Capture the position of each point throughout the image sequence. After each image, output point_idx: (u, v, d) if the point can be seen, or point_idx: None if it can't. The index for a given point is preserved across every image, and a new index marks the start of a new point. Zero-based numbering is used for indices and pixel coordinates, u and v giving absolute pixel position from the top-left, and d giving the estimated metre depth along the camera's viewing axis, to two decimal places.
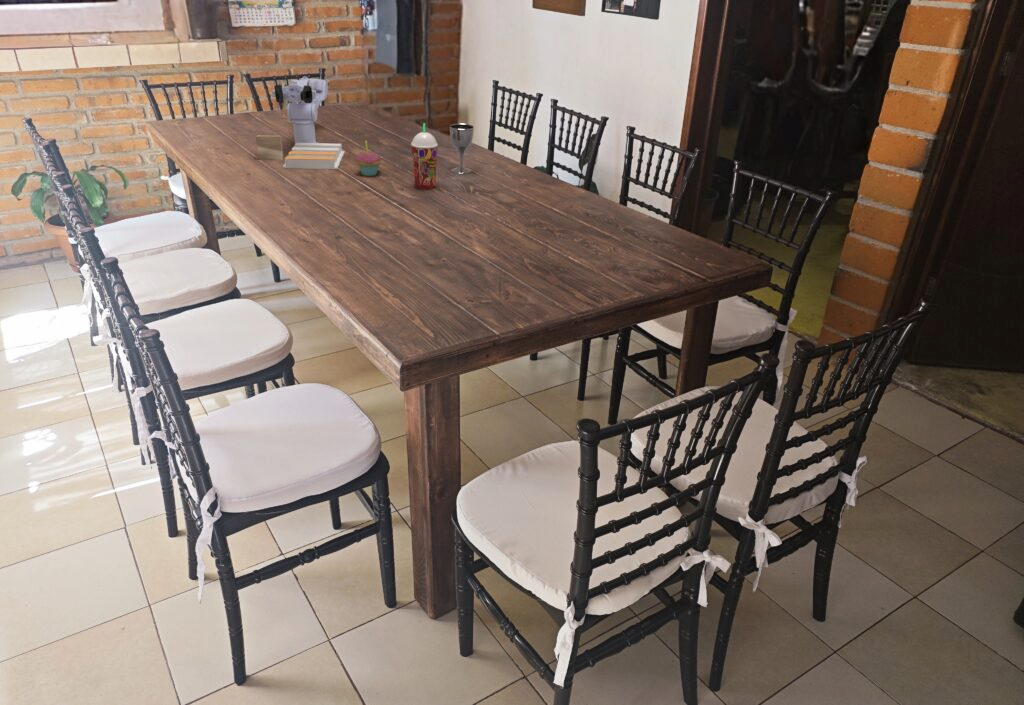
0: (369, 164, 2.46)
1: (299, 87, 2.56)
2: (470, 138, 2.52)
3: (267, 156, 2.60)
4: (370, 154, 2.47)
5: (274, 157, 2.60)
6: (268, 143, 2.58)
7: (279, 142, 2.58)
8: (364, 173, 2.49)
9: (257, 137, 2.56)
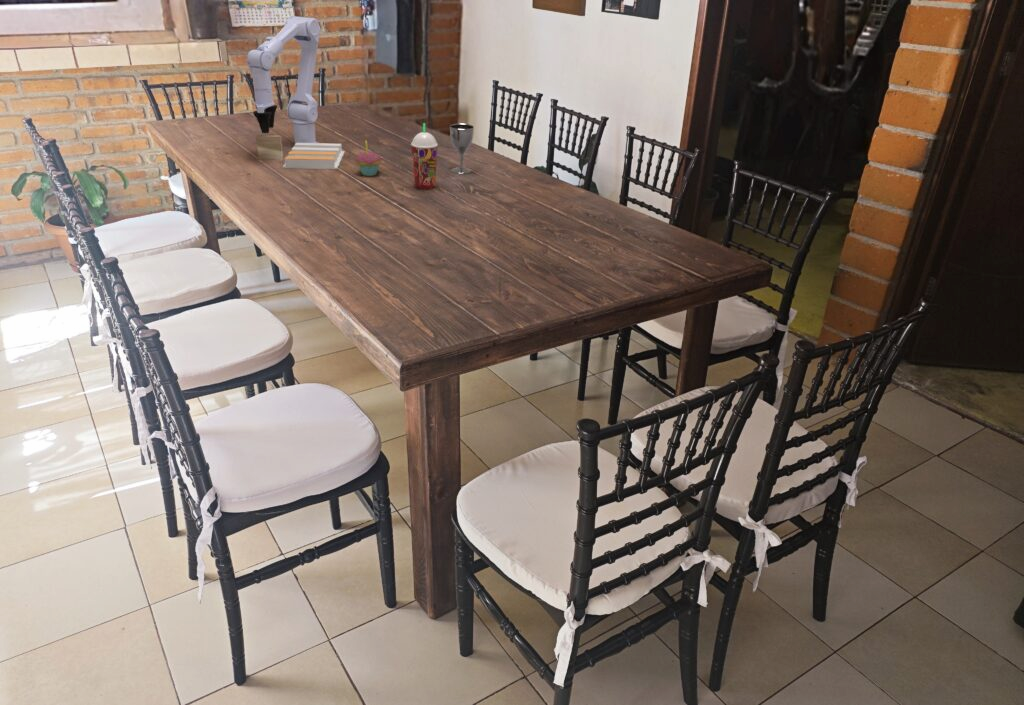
0: (369, 164, 2.46)
1: None
2: (470, 138, 2.52)
3: (267, 156, 2.60)
4: (370, 154, 2.47)
5: (274, 157, 2.60)
6: (268, 143, 2.58)
7: (279, 142, 2.58)
8: (364, 173, 2.49)
9: (257, 137, 2.56)
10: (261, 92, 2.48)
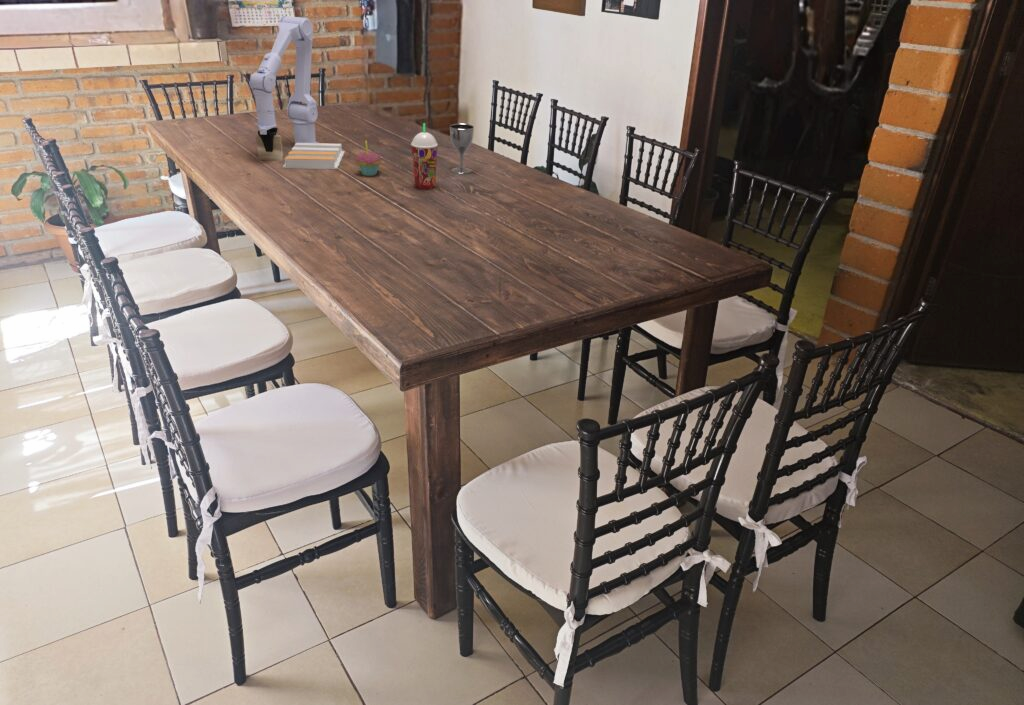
0: (369, 164, 2.46)
1: None
2: (470, 138, 2.52)
3: (267, 156, 2.60)
4: (370, 154, 2.47)
5: (274, 157, 2.60)
6: None
7: (279, 142, 2.58)
8: (364, 173, 2.49)
9: (257, 137, 2.56)
10: (264, 114, 2.51)
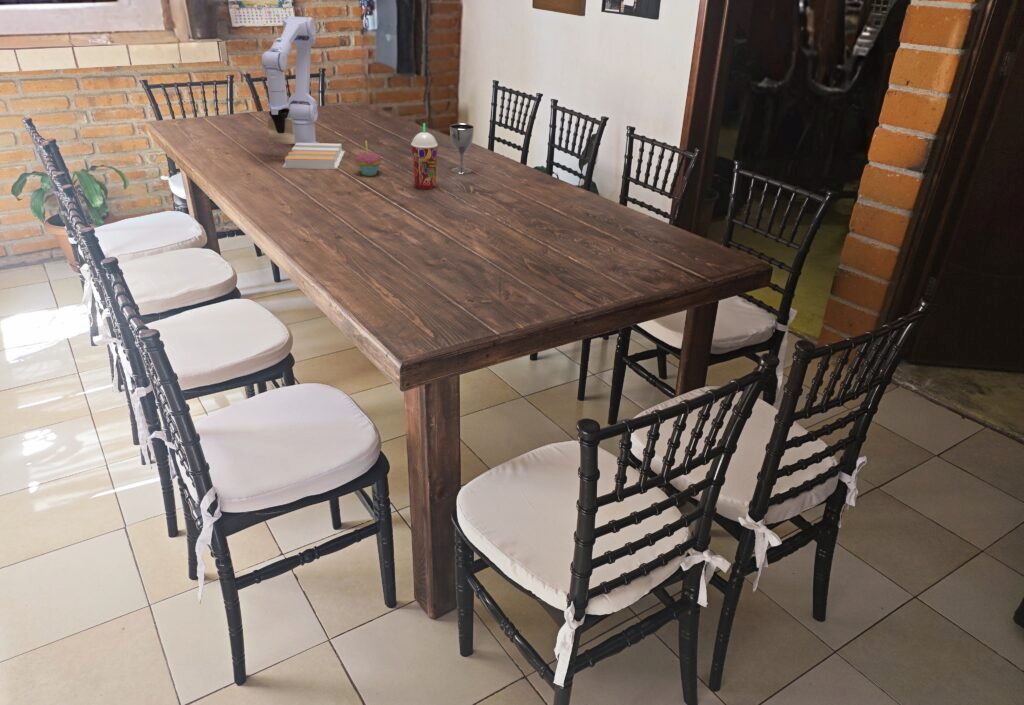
0: (369, 164, 2.46)
1: None
2: (470, 138, 2.52)
3: (278, 139, 2.55)
4: (370, 154, 2.47)
5: (285, 141, 2.56)
6: None
7: (291, 125, 2.53)
8: (364, 173, 2.49)
9: (268, 120, 2.52)
10: (275, 94, 2.46)
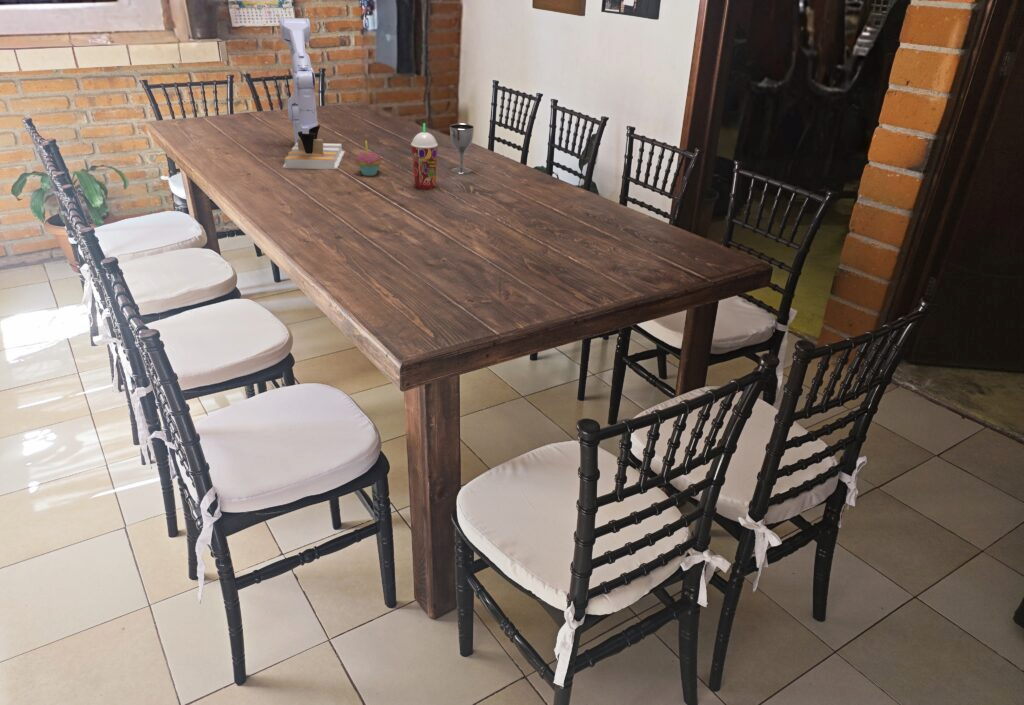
0: (369, 164, 2.46)
1: None
2: (470, 138, 2.52)
3: None
4: (370, 154, 2.47)
5: None
6: None
7: (321, 146, 2.53)
8: (364, 173, 2.49)
9: (299, 141, 2.52)
10: (306, 113, 2.46)
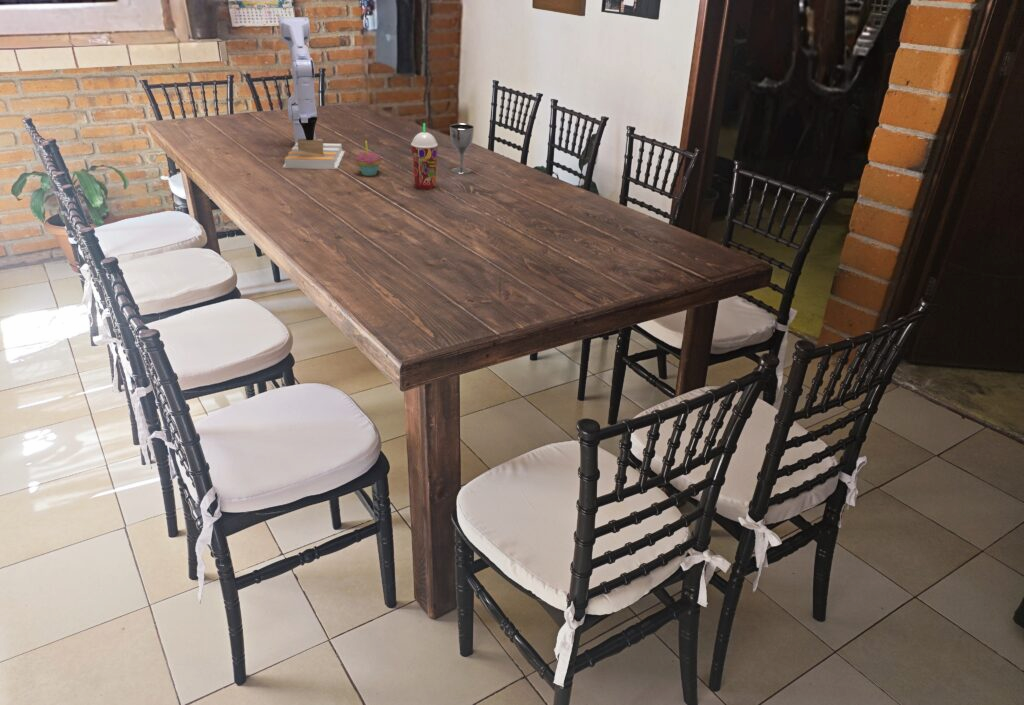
0: (369, 164, 2.46)
1: None
2: (470, 138, 2.52)
3: None
4: (370, 154, 2.47)
5: None
6: (309, 147, 2.53)
7: (321, 146, 2.53)
8: (364, 173, 2.49)
9: (299, 141, 2.52)
10: (305, 102, 2.44)
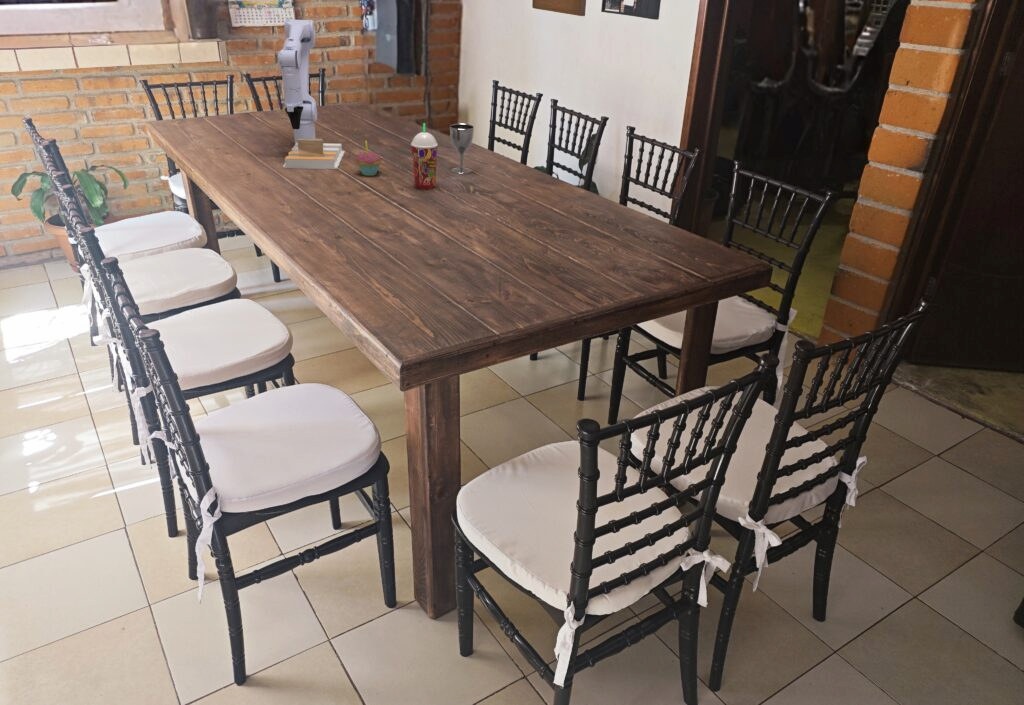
0: (369, 164, 2.46)
1: (286, 104, 2.54)
2: (470, 138, 2.52)
3: None
4: (370, 154, 2.47)
5: None
6: (309, 147, 2.53)
7: (321, 146, 2.53)
8: (364, 173, 2.49)
9: (299, 141, 2.52)
10: (291, 91, 2.51)
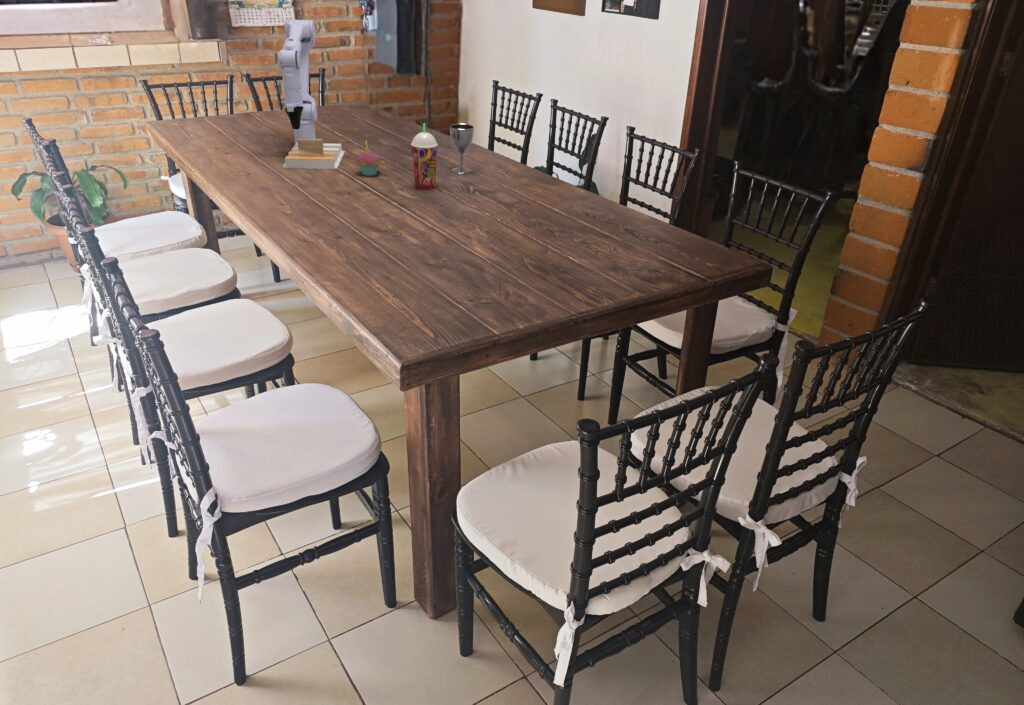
0: (369, 164, 2.46)
1: (286, 104, 2.54)
2: (470, 138, 2.52)
3: None
4: (370, 154, 2.47)
5: None
6: (309, 147, 2.53)
7: (321, 146, 2.53)
8: (364, 173, 2.49)
9: (299, 141, 2.52)
10: (291, 91, 2.51)
